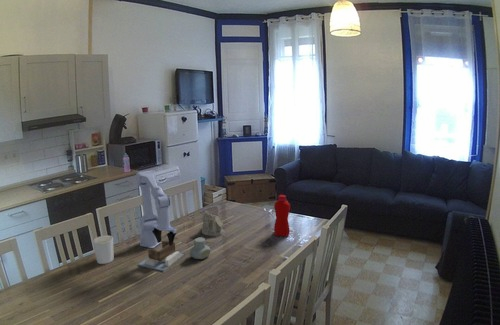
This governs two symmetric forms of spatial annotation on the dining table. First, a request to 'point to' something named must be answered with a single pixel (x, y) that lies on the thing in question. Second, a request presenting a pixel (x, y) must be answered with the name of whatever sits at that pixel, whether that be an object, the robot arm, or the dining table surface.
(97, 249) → the candle holder
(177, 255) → the display stand
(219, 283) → the dining table surface
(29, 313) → the dining table surface
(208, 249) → the air freshener
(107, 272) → the dining table surface
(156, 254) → the wooden c-shaped bracket
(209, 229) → the beige rock
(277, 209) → the water bottle
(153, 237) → the robot arm
